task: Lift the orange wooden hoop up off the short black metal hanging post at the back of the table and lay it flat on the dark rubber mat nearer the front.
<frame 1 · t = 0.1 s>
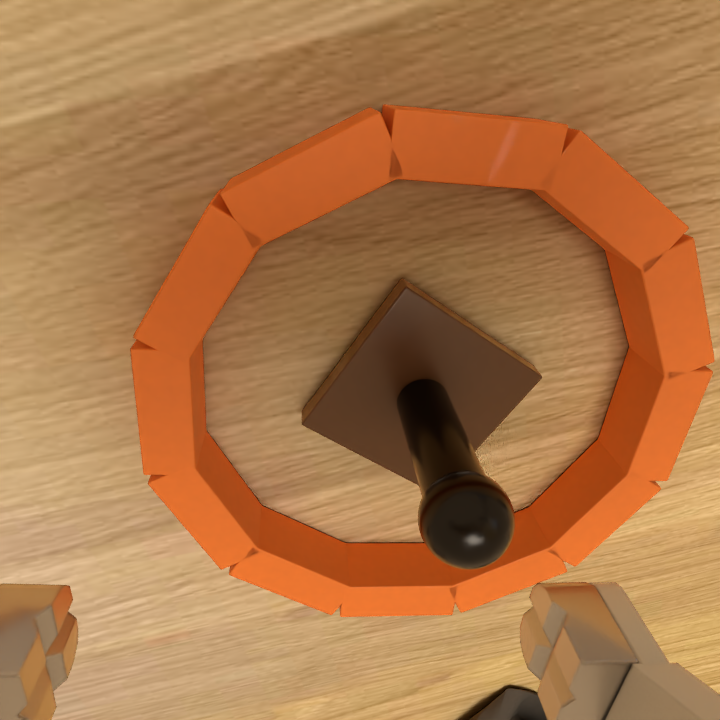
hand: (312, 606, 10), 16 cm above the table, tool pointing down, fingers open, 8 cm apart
hoop: (417, 388, 27), on the table
hanging post: (417, 388, 27), on the table
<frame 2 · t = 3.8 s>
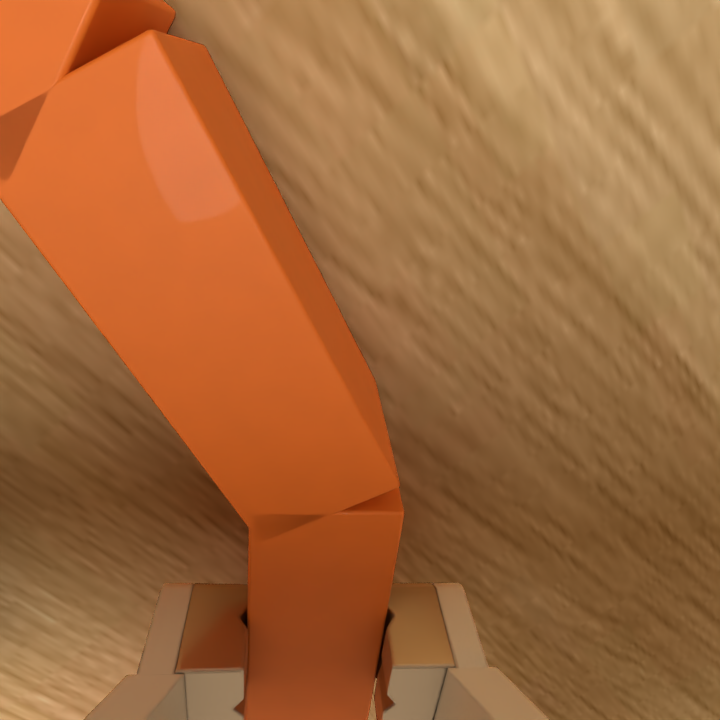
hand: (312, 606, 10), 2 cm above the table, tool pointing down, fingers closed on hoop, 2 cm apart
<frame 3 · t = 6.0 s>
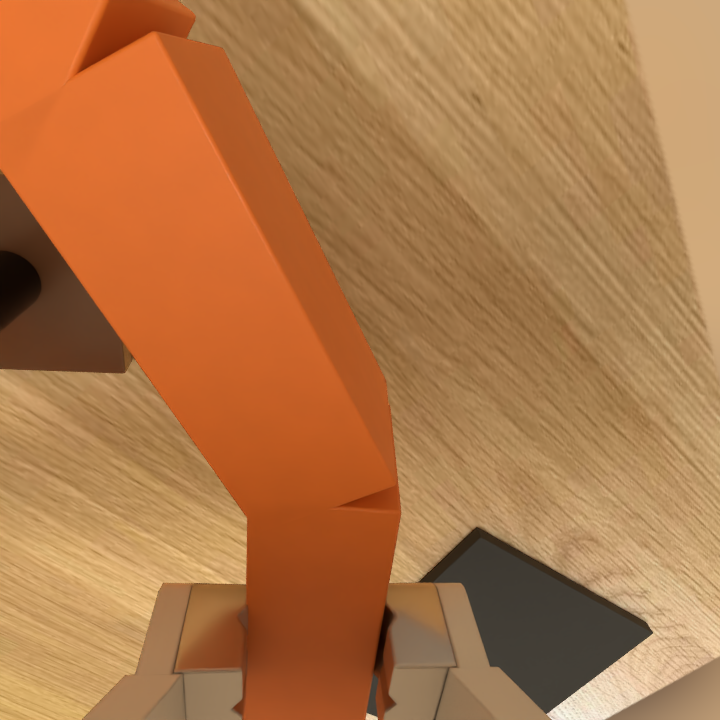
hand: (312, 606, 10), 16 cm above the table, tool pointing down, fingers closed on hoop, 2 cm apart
hanging post: (22, 270, 23), on the table
mat: (481, 652, 37), on the table
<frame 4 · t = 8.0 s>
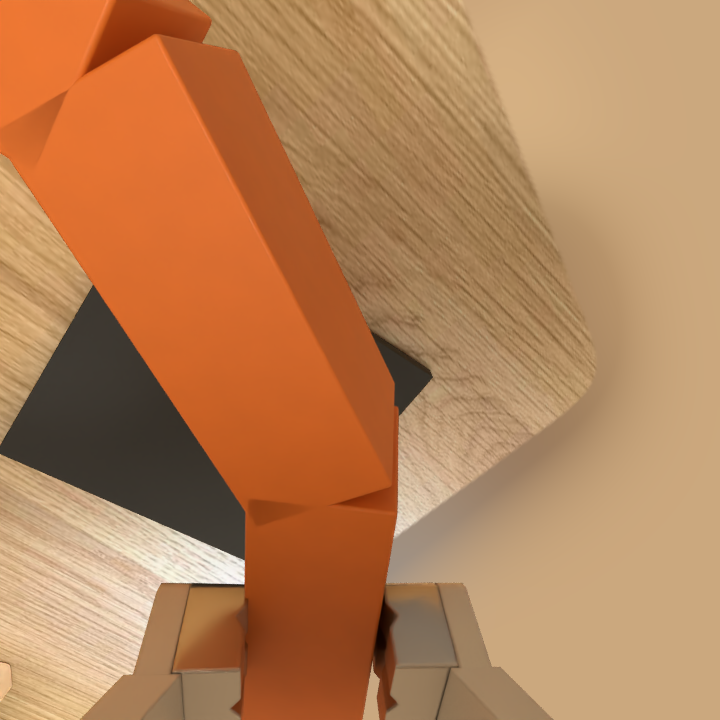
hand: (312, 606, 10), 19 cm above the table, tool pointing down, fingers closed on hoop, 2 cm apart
mat: (219, 406, 29), on the table
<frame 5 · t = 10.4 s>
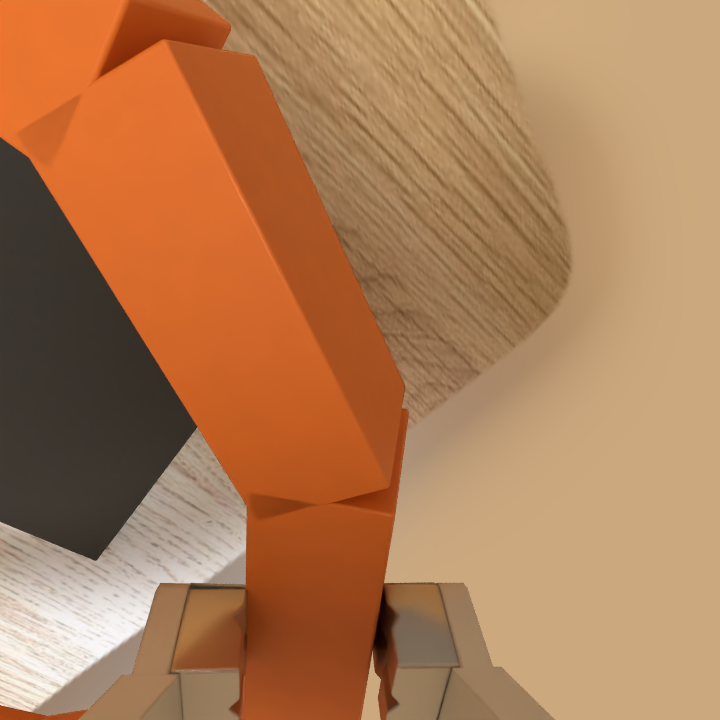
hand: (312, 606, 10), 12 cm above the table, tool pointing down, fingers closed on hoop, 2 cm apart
when the fingers open (4 cm above the table, at t = 12.2 s): hoop stays where it is, resting on mat.
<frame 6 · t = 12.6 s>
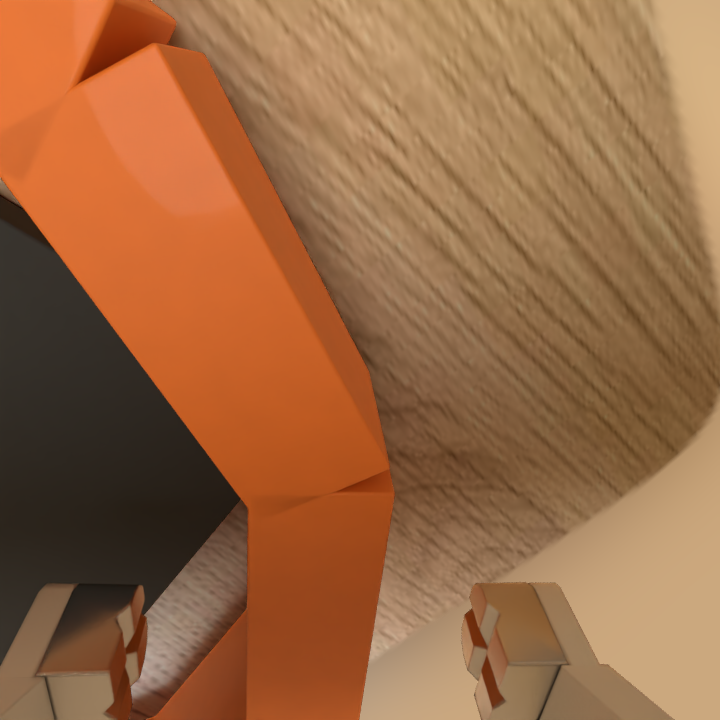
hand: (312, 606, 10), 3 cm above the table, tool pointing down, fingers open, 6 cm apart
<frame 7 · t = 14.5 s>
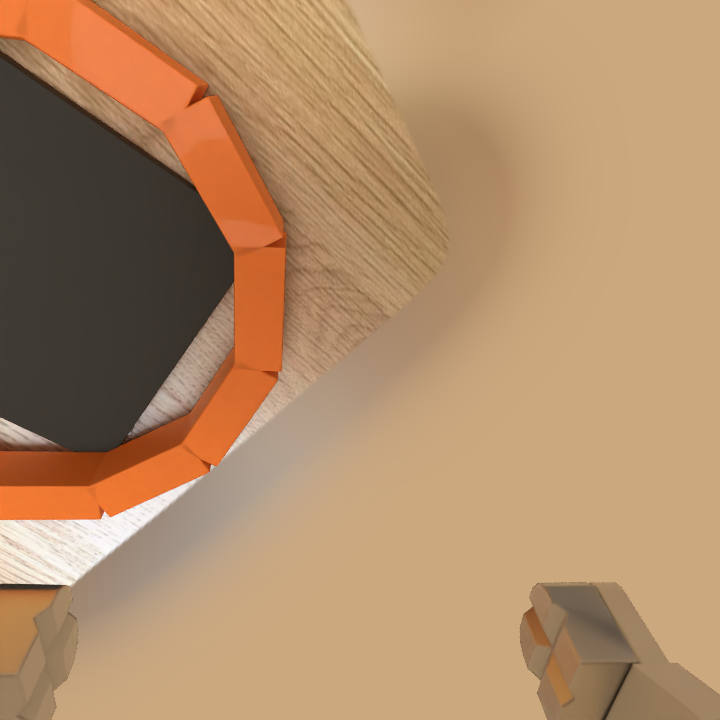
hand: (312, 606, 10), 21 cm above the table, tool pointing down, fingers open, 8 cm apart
hoop: (25, 277, 26), point 1 cm above the table, touching mat
mat: (31, 270, 27), on the table
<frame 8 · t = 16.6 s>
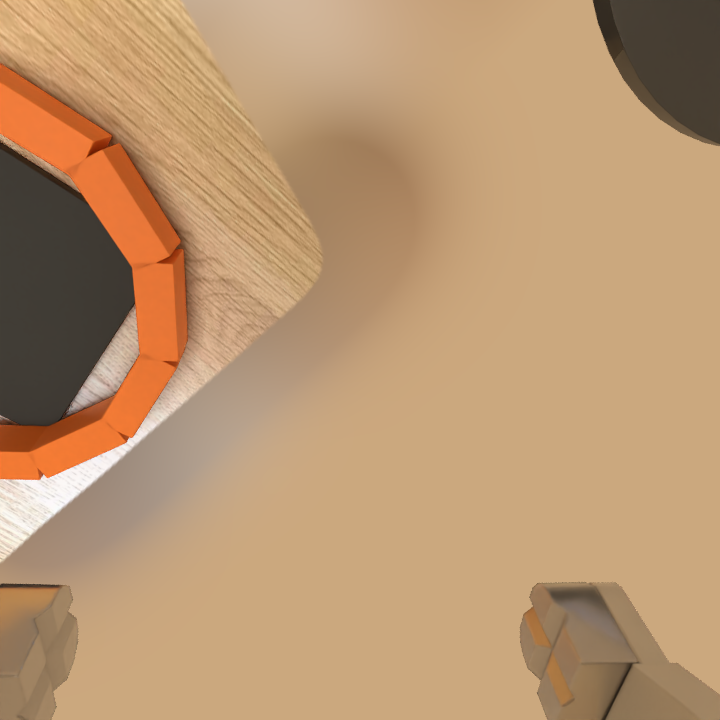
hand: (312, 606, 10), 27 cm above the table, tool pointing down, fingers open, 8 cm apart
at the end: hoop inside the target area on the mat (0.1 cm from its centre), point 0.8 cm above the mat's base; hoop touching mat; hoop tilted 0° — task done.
